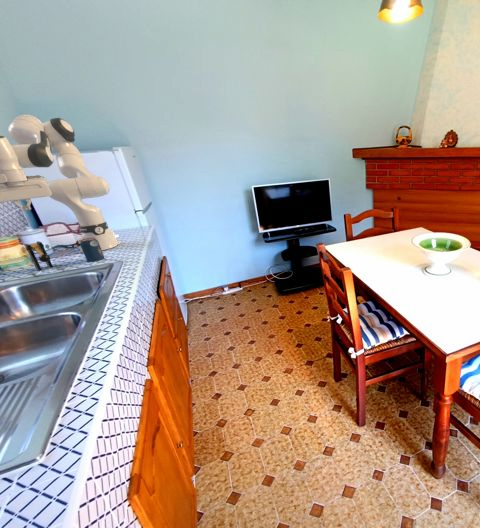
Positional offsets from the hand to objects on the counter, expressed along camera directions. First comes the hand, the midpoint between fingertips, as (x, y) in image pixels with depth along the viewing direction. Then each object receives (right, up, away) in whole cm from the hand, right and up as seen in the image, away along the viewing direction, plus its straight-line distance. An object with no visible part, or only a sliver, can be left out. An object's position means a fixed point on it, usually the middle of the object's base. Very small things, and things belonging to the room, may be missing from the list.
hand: (26, 210), depth 130 cm
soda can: (+14, -23, +20) cm, 33 cm away
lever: (-1, -20, +7) cm, 21 cm away
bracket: (-4, -27, +12) cm, 30 cm away
